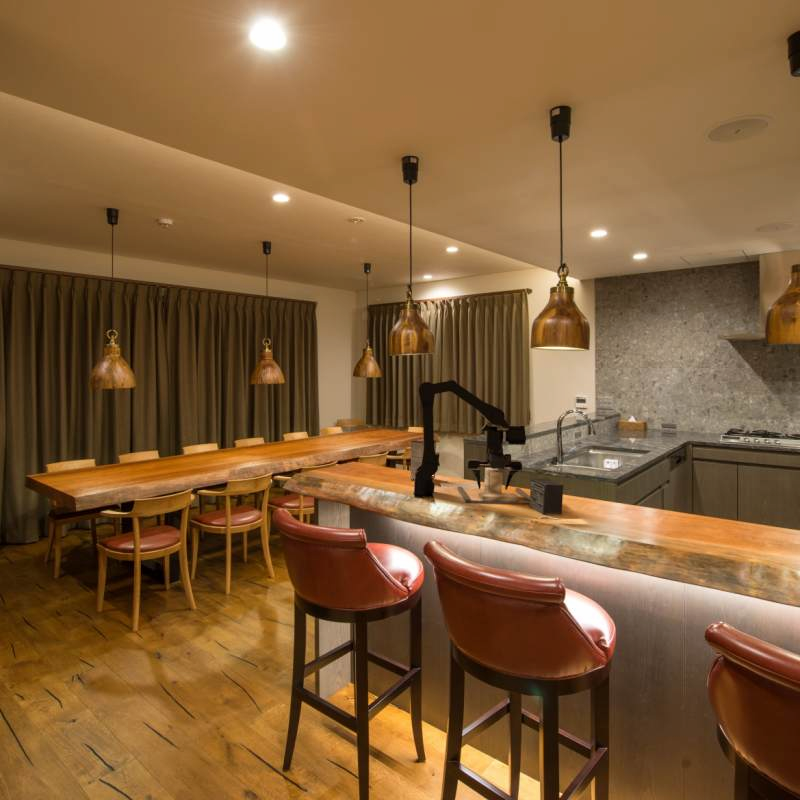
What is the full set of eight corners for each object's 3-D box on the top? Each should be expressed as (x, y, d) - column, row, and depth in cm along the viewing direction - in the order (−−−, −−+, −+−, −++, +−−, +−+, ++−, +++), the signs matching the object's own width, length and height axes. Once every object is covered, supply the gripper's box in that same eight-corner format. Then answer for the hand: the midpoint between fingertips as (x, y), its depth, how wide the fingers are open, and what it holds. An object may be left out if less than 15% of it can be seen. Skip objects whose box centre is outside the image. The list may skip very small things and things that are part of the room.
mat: (443, 491, 189) (443, 490, 189) (439, 484, 203) (439, 482, 203) (487, 492, 189) (487, 491, 189) (480, 485, 203) (480, 484, 203)
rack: (466, 507, 166) (466, 499, 165) (457, 493, 187) (457, 486, 186) (535, 508, 166) (536, 501, 166) (519, 494, 187) (519, 488, 187)
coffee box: (422, 476, 218) (423, 438, 218) (435, 478, 214) (436, 440, 214) (409, 479, 211) (410, 440, 211) (422, 481, 207) (423, 441, 207)
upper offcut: (482, 502, 167) (482, 496, 167) (478, 498, 172) (478, 492, 172) (518, 502, 168) (518, 496, 168) (513, 499, 173) (513, 493, 173)
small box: (563, 519, 154) (564, 484, 154) (542, 519, 153) (544, 484, 153) (547, 510, 164) (548, 477, 164) (528, 510, 163) (529, 477, 163)
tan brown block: (489, 502, 174) (490, 472, 174) (484, 495, 184) (485, 467, 184) (501, 502, 174) (502, 472, 174) (495, 496, 184) (496, 468, 184)
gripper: (471, 446, 170) (469, 493, 171) (527, 447, 171) (525, 494, 171) (466, 442, 182) (464, 486, 182) (519, 443, 182) (517, 488, 183)
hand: (492, 489), depth 179 cm, fingers open, 9 cm apart
